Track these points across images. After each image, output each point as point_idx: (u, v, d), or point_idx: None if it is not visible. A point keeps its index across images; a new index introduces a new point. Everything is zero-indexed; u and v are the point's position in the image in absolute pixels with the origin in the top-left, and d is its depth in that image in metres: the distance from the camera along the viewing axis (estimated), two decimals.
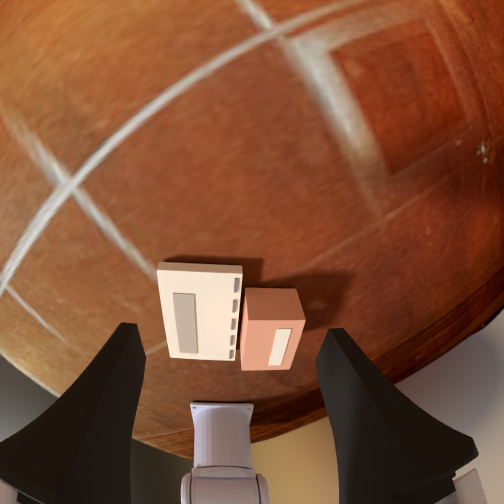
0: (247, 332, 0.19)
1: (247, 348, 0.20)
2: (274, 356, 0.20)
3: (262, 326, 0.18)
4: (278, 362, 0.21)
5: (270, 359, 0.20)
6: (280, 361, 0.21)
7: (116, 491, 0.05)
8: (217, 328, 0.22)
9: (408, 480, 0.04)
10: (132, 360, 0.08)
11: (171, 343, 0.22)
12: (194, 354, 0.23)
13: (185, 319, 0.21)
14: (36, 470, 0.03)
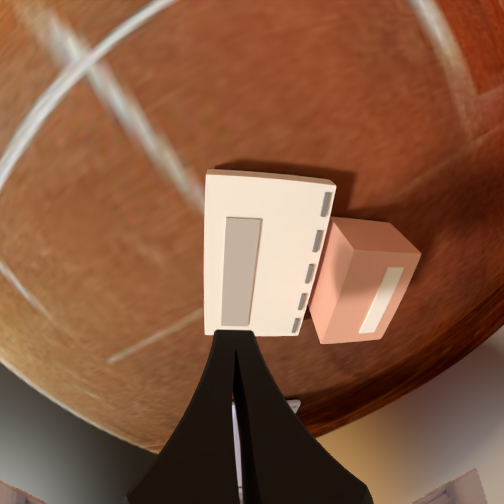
0: (348, 273, 0.12)
1: (340, 305, 0.13)
2: (371, 317, 0.13)
3: (370, 262, 0.12)
4: (373, 327, 0.14)
5: (364, 322, 0.14)
6: (374, 325, 0.14)
7: None
8: (285, 281, 0.15)
9: None
10: (233, 367, 0.09)
11: (211, 310, 0.16)
12: (242, 328, 0.17)
13: (238, 267, 0.14)
14: None
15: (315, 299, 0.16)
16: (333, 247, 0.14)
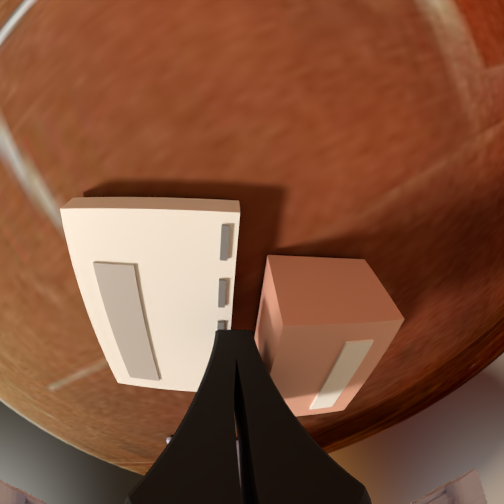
0: (277, 354, 0.08)
1: None
2: (324, 394, 0.09)
3: (314, 340, 0.07)
4: (329, 403, 0.10)
5: (315, 400, 0.09)
6: (332, 400, 0.10)
7: None
8: (189, 339, 0.11)
9: None
10: None
11: (114, 361, 0.11)
12: (155, 381, 0.12)
13: (126, 320, 0.10)
14: None
15: None
16: (268, 303, 0.09)
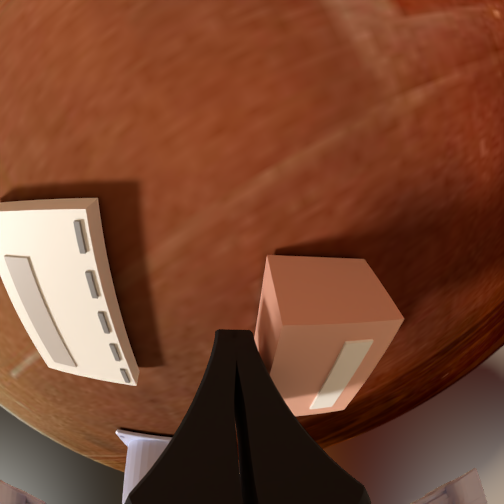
0: (277, 354, 0.08)
1: None
2: (324, 394, 0.09)
3: (313, 339, 0.07)
4: (329, 403, 0.10)
5: (315, 400, 0.09)
6: (332, 400, 0.10)
7: None
8: (83, 327, 0.10)
9: None
10: None
11: (39, 345, 0.11)
12: (74, 368, 0.12)
13: (35, 307, 0.09)
14: None
15: None
16: (267, 303, 0.09)
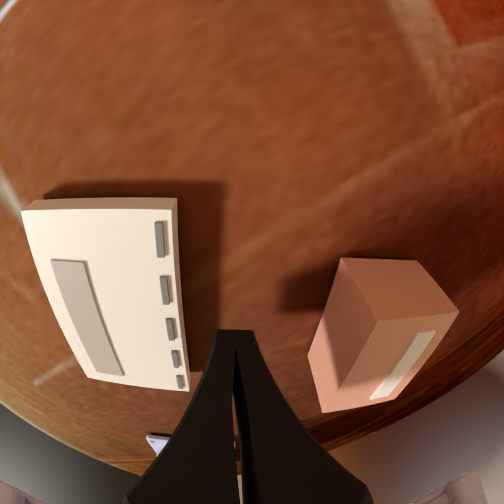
0: (364, 347, 0.08)
1: (350, 378, 0.09)
2: (387, 384, 0.10)
3: (395, 332, 0.08)
4: (387, 392, 0.10)
5: (378, 390, 0.10)
6: (389, 389, 0.10)
7: None
8: (143, 335, 0.10)
9: None
10: (233, 367, 0.09)
11: (80, 355, 0.11)
12: (120, 377, 0.12)
13: (85, 315, 0.10)
14: None
15: (318, 357, 0.12)
16: (345, 303, 0.10)
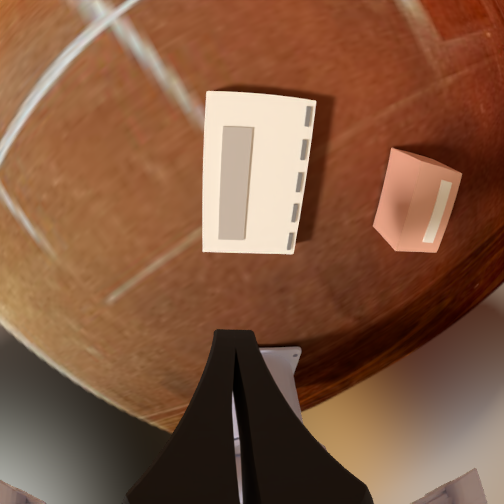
0: (417, 180, 0.14)
1: (411, 209, 0.14)
2: (431, 225, 0.15)
3: (430, 174, 0.13)
4: (432, 238, 0.16)
5: (427, 231, 0.15)
6: (433, 236, 0.16)
7: None
8: (277, 189, 0.16)
9: None
10: (233, 367, 0.09)
11: (208, 221, 0.17)
12: (239, 242, 0.18)
13: (234, 174, 0.15)
14: None
15: (383, 217, 0.17)
16: (399, 168, 0.15)
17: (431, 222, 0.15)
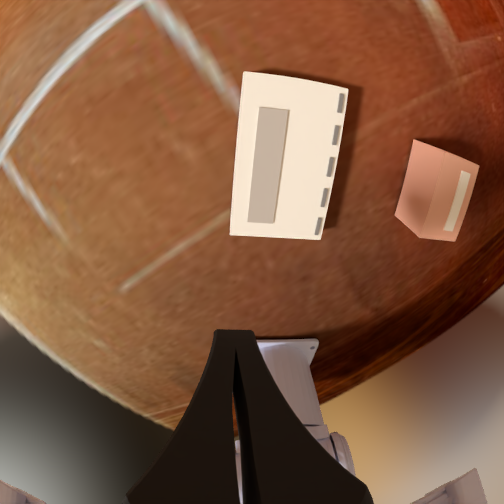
0: (440, 169, 0.13)
1: (435, 197, 0.14)
2: (451, 214, 0.15)
3: (452, 164, 0.13)
4: (452, 226, 0.15)
5: (447, 219, 0.15)
6: (452, 225, 0.15)
7: None
8: (308, 173, 0.16)
9: None
10: (233, 367, 0.09)
11: (238, 203, 0.16)
12: (268, 226, 0.17)
13: (268, 155, 0.15)
14: None
15: (406, 206, 0.17)
16: (422, 158, 0.15)
17: (451, 211, 0.15)
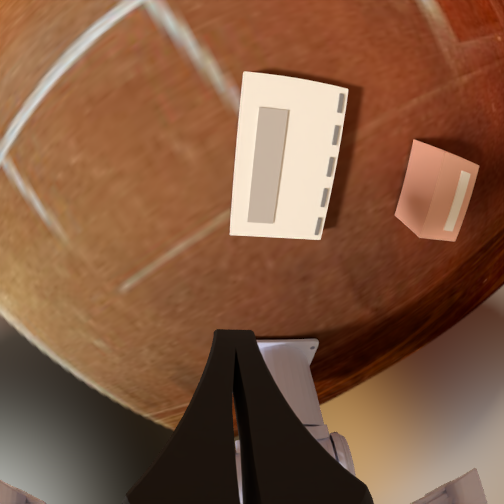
0: (440, 169, 0.13)
1: (435, 197, 0.14)
2: (451, 214, 0.15)
3: (452, 164, 0.13)
4: (452, 226, 0.15)
5: (447, 219, 0.15)
6: (452, 225, 0.15)
7: None
8: (308, 173, 0.16)
9: None
10: (233, 367, 0.09)
11: (238, 203, 0.16)
12: (268, 226, 0.17)
13: (268, 155, 0.15)
14: None
15: (406, 206, 0.17)
16: (422, 158, 0.15)
17: (451, 211, 0.15)
